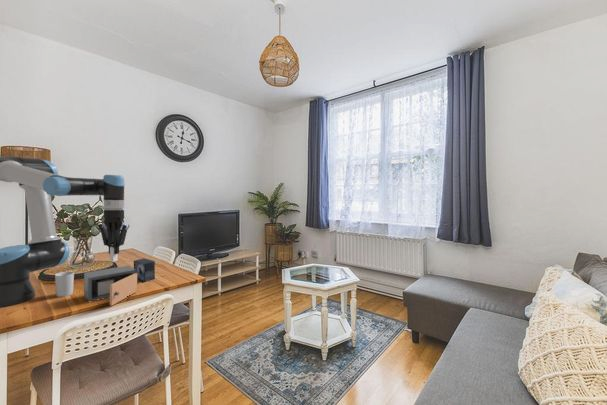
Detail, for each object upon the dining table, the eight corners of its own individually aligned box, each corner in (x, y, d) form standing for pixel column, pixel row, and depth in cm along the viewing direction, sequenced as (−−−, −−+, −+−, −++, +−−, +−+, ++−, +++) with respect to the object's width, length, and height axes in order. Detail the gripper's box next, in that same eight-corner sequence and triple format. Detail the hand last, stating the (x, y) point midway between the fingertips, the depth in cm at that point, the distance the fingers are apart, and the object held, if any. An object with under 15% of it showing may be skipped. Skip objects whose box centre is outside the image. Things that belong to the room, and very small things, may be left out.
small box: (132, 278, 145) (132, 260, 145) (144, 275, 151) (144, 257, 150) (143, 282, 140) (143, 263, 140) (155, 279, 146) (155, 260, 146)
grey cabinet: (88, 302, 114) (88, 278, 114) (84, 295, 121) (84, 272, 120) (135, 291, 128) (135, 269, 127) (129, 286, 134) (129, 265, 134)
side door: (114, 305, 111) (114, 285, 111) (109, 305, 111) (109, 285, 111) (139, 291, 127) (139, 273, 127) (135, 291, 127) (135, 273, 127)
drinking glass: (74, 294, 122) (74, 273, 121) (54, 298, 117) (54, 276, 116) (73, 290, 126) (73, 270, 126) (54, 293, 122) (54, 273, 121)
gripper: (92, 209, 112) (92, 262, 113) (122, 210, 112) (121, 263, 113) (106, 208, 120) (106, 258, 121) (133, 209, 119) (133, 259, 120)
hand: (113, 260), depth 117 cm, fingers closed
